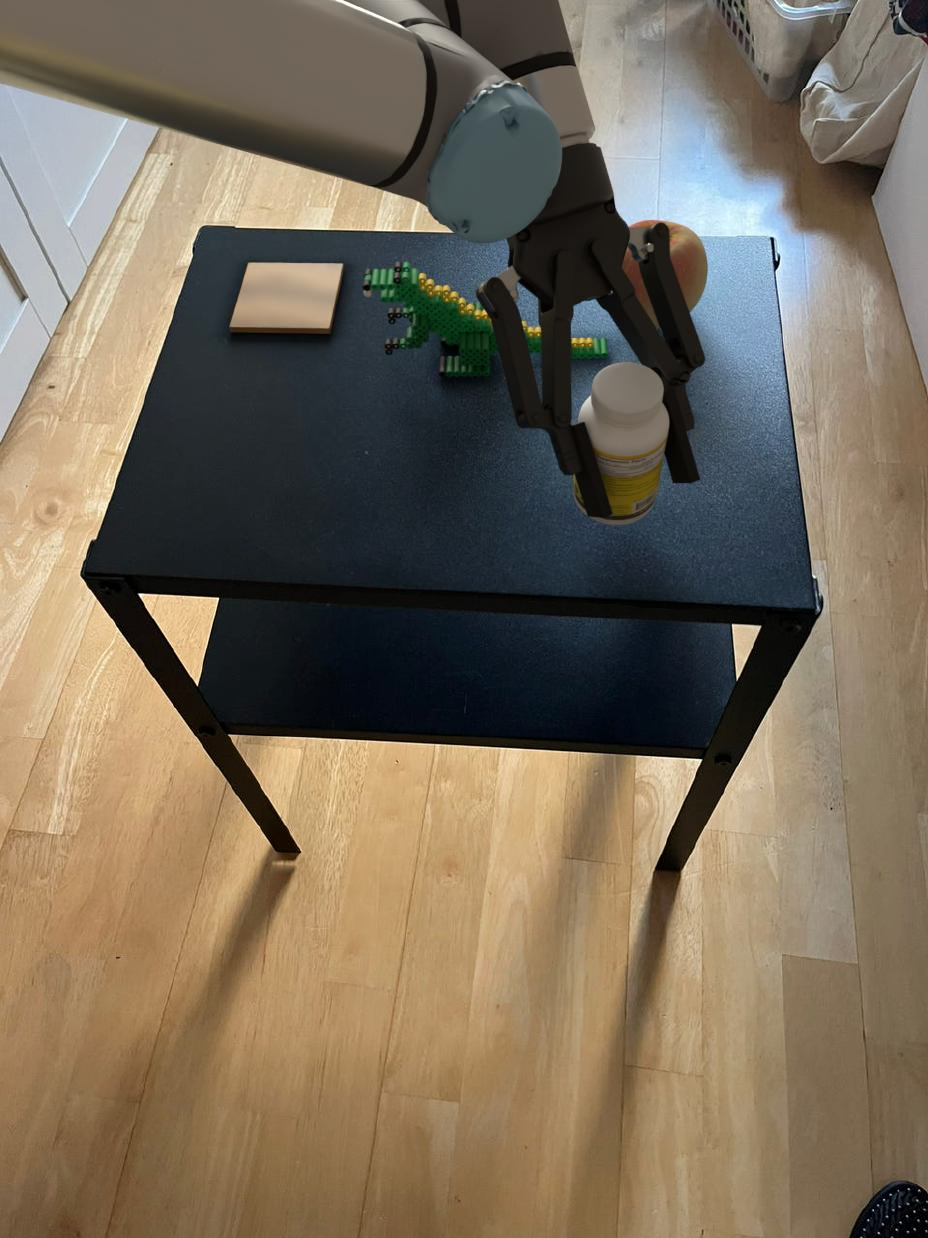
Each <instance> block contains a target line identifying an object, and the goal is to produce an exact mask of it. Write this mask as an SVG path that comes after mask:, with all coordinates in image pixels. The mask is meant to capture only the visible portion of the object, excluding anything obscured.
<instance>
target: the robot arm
mask: <svg viewBox="0 0 928 1238" xmlns="http://www.w3.org/2000/svg"><path fill="white" fill-rule="evenodd" d="M559 1H560V0H0V85H1V84H2V85H5V86H9V87H12V88H15V89H16V88H17V89H19V90H23V91H26V92H29V93H33V94H37V95H41V96H44V97H48V98H52V99H55V100H57V101H58V100H59V101H62V102H66V103H70V104H73V105H77V106H80V107H84V108H87V109H91V110H93V111H94V110H95V111H98V112H102V113H105V114H109V115H112V116H116V117H119V118H124V119H127V120H131V121H134V122H137V123H141V124H145V125H148V126H152V127H156V128H159V129H162V130H166V131H170V132H174V133H177V134H180V135H184V136H188V137H191V138H195V139H199V140H201V141H202V140H203V141H205V142H209V143H213V144H216V145H220V146H224V147H227V148H231V149H235V150H238V151H241V152H245V153H248V154H252V155H256V156H260V157H263V158H266V159H270V160H274V161H277V162H281V163H285V164H289V165H291V166H294V167H295V166H296V167H299V168H302V169H306V170H310V171H313V172H317V173H320V174H324V175H328V176H331V177H335V178H338V179H341V180H346V181H349V182H352V183H356V184H360V185H363V186H367V187H371V188H374V189H377V190H381V191H384V192H386V193H390V194H393V195H397V196H400V197H403V198H407V199H410V200H413V201H416V202H418V203H420V204H421V205H423V206H425V207H426V208H427V211H428V212H429V214H430V215H431V217H432V218H433V220H435V221H437V222H438V224H439V225H442V226H445V227H446V228H448V229H449V230H450V231H451V232H452V233H453V234H454V235H456V236H457V237H459V238H461V239H462V240H464V241H467V242H469V243H474V244H483V245H484V244H485V245H487V244H493V243H498V242H501V241H504V240H506V242H507V245H508V259H507V268H506V269H505V270H503V271H501V272H500V273H499V274H497V275H496V276H492V277H489V279H487V280H485V281H483V282H482V283H481V284H479V285H478V286H477V287H476V289H475V296H476V299H477V300H478V302H480V303H481V305H482V307H483V308H484V310H485V311H486V313H487V315H488V316H489V318H490V319H491V322H492V326H493V330H494V334H495V338H496V342H497V347H498V351H499V354H498V355H499V359H500V363H501V366H502V367H501V368H502V370H503V375H504V379H505V383H506V387H507V391H508V396H509V399H510V403H511V407H512V412H513V415H514V418H515V419H514V420H515V424H516V425H517V427H519V428H520V429H540V430H543V431H544V432H546V433H547V434H548V436H549V440H550V443H551V446H552V450H553V452H554V456H555V458H556V461H557V465H558V468H559V470H560V471H561V473H562V474H563V476H574V474H575V477H576V481H577V484H578V487H579V490H580V493H581V497H582V500H583V503H584V506H585V509H586V513H587V516H586V517H587V518H589V517H598V518H604V517H607V516H609V515H612V514H613V513H612V509H611V506H610V503H609V500H608V496H607V493H606V490H605V487H604V483H603V480H602V477H601V474H600V470H599V467H598V464H597V461H596V457H595V454H594V451H593V448H592V444H591V441H590V438H589V435H588V431H587V428H586V425H585V422H578V421H577V422H572V420H573V417H572V416H573V413H572V412H573V408H572V407H573V405H572V403H573V401H572V393H573V392H572V357H571V335H572V321H573V319H574V313H575V312H574V311H575V310H574V308H575V306H577V305H580V304H581V303H583V302H591V301H594V300H595V301H596V302H597V304H598V305H599V306H600V308H601V309H602V310H604V311H606V312H607V314H608V315H609V316H610V318H611V320H612V321H613V323H614V324H615V325H616V327H617V329H618V331H619V332H620V333H621V335H622V336H623V338H624V339H625V341H626V343H627V344H628V345H629V346H628V347H630V349H631V350H632V352H633V353H634V355H635V356H636V358H637V360H638V361H639V363H640V364H641V365H644V366H646V367H648V368H650V369H652V370H653V371H654V372H655V373H657V375H658V376H659V377H660V379H661V380H662V383H663V388H664V391H663V399H662V403H663V404H664V406H665V408H666V410H667V412H668V416H669V430H668V436H667V441H666V446H665V452H664V458H665V461H666V465H667V467H668V471H669V474H670V475H669V476H670V478H671V481H672V484H693V483H696V482H699V481H701V477H700V473H699V470H698V465H697V462H696V459H695V456H694V453H693V452H694V451H693V448H692V446H691V442H690V441H691V440H690V438H689V434H688V432H690V431H693V430H695V423H696V420H695V416H694V413H693V410H692V407H691V402H690V398H689V396H688V392H687V389H686V385H687V384H688V382H690V381H691V377H692V374H693V373H694V372H695V371H696V370H697V369H700V368H701V367H703V366H704V365H705V363H706V355H705V351H704V349H703V345H702V343H701V341H700V337H699V335H698V332H697V329H696V326H695V324H694V321H693V318H692V315H691V312H689V309H688V306H687V304H686V301H685V298H684V295H683V292H682V289H681V287H680V284H679V281H678V278H677V275H676V273H675V270H674V267H673V264H672V261H671V258H670V234H669V228H668V226H667V225H666V224H665V223H661V222H660V223H657V224H655V225H653V226H652V227H638V228H629V225H628V223H627V222H626V220H624V219H623V217H622V216H621V215H620V213H619V212H618V210H617V206H616V200H615V193H614V188H613V186H612V182H611V178H610V174H609V171H608V169H607V164H606V161H605V157H604V154H603V151H602V146H598V145H597V144H596V143H595V142H591V141H590V139H592V137H594V133H596V125H595V122H594V120H593V115H592V112H591V109H590V106H589V102H588V99H587V96H586V95H587V94H586V92H585V89H584V85H583V82H582V78H581V74H580V72H579V68H578V66H577V63H576V60H575V54H574V51H573V48H572V44H571V41H570V37H569V34H568V30H567V26H566V23H565V19H564V15H563V12H562V7H561V6H560V2H559ZM627 247H628V248H629V249H630V250H631V253H632V258H633V259H635V260H636V261H638V263H639V269H640V273H641V277H642V280H643V283H644V285H645V288H646V291H647V294H648V296H649V299H650V302H651V305H652V307H653V310H654V313H655V316H656V318H657V321H658V324H659V327H660V328H659V329H660V331H659V329H658V328H656V327H655V325H654V323H653V322H652V320H651V319H650V317H649V316H648V314H647V313H646V311H645V309H644V308H643V306H642V305H641V303H640V302H639V300H638V299H637V297H636V295H635V288H634V286H633V284H632V283H631V281H630V280H629V278H628V276H627V275H626V273H625V272H624V270H623V269H622V264H623V261H624V257H625V254H626V250H627ZM518 284H519V285H520V286H522V287H523V288H524V289H525V290H527V291H528V292H529V293H531V294H532V295H533V296H534V297H535V298H537V317H538V318H537V319H538V326H539V327H541V353H540V357H541V358H540V360H541V361H540V362H541V365H540V366H541V367H540V368H541V395H540V392H539V386H538V383H537V379H536V375H535V370H534V366H533V362H532V357H531V354H530V353H529V349H528V345H527V340H526V336H525V332H524V328H523V324H522V321H523V320H522V315H521V313H520V310H519V308H518V305H517V302H518V301H519V297H520V296H519V292H518ZM660 332H661V333H660Z"/></svg>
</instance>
